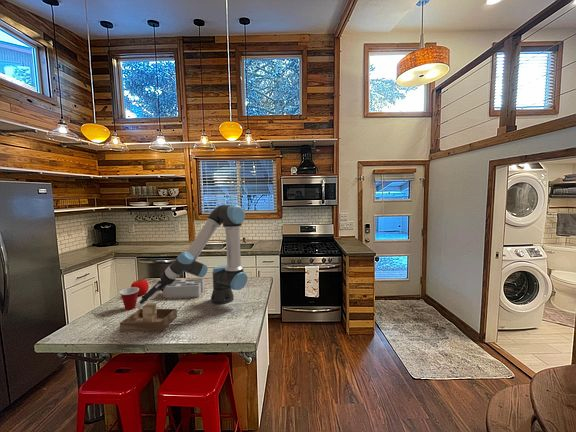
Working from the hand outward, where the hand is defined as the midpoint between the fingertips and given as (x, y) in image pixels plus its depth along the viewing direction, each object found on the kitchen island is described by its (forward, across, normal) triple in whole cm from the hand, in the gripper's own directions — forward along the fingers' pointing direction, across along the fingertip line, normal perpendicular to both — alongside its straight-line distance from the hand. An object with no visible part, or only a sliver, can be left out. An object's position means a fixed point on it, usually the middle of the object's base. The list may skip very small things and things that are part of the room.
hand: (144, 301), depth 149 cm
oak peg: (+6, 0, -10) cm, 12 cm away
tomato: (+31, +46, +13) cm, 57 cm away
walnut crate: (+7, 0, -11) cm, 13 cm away
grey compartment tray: (+9, +47, -9) cm, 49 cm away
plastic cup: (+25, +21, +7) cm, 33 cm away
